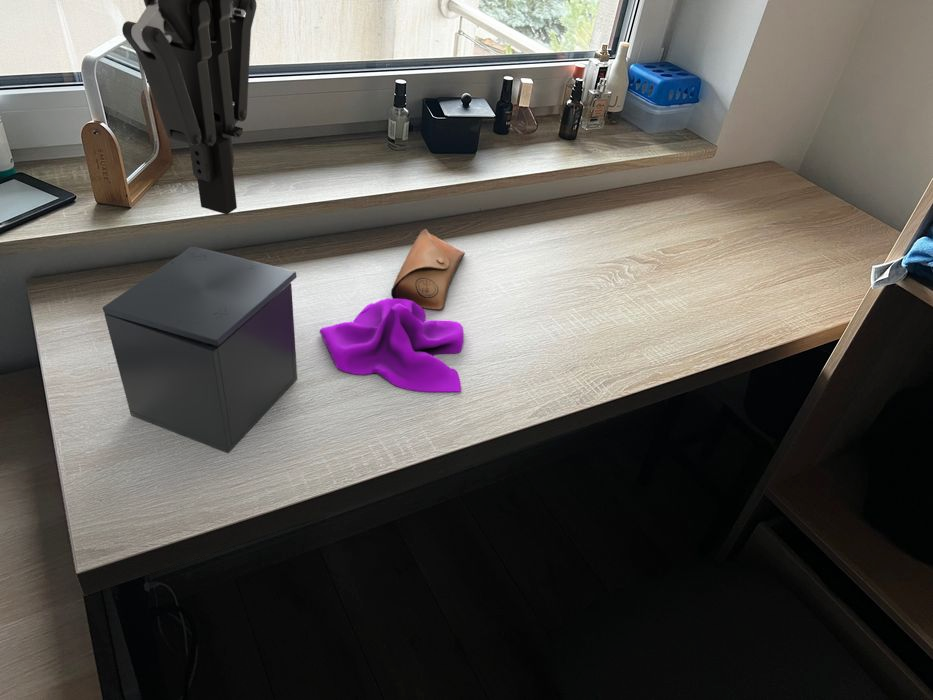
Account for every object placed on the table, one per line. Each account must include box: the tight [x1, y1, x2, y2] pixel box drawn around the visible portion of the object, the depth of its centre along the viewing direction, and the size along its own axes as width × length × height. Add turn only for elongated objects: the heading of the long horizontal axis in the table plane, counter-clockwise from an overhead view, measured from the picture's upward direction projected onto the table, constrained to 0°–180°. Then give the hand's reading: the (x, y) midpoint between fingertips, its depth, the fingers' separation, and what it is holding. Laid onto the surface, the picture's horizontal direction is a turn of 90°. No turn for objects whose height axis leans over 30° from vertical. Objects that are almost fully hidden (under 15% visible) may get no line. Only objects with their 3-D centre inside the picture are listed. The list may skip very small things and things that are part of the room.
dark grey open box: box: [103, 282, 298, 454], centre depth 85 cm, size 14×15×15 cm
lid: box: [102, 245, 298, 346], centre depth 79 cm, size 14×15×1 cm
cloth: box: [319, 298, 464, 393], centre depth 99 cm, size 22×19×6 cm
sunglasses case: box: [390, 228, 466, 311], centre depth 114 cm, size 18×7×7 cm
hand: (219, 207), depth 65 cm, fingers closed
